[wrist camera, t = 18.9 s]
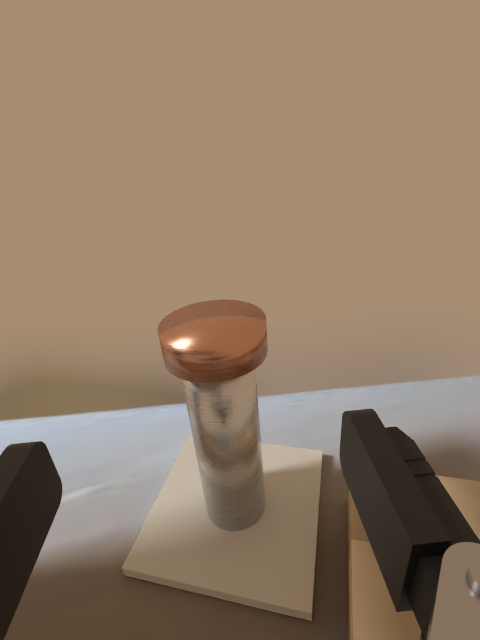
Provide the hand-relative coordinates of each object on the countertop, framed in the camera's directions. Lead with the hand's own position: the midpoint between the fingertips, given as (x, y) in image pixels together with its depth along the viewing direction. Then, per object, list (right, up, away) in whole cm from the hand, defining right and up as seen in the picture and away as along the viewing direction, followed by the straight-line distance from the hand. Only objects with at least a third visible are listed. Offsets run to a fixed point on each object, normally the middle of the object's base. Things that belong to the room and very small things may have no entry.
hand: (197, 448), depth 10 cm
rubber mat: (+1, -11, +17) cm, 20 cm away
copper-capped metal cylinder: (+1, -10, +17) cm, 20 cm away
